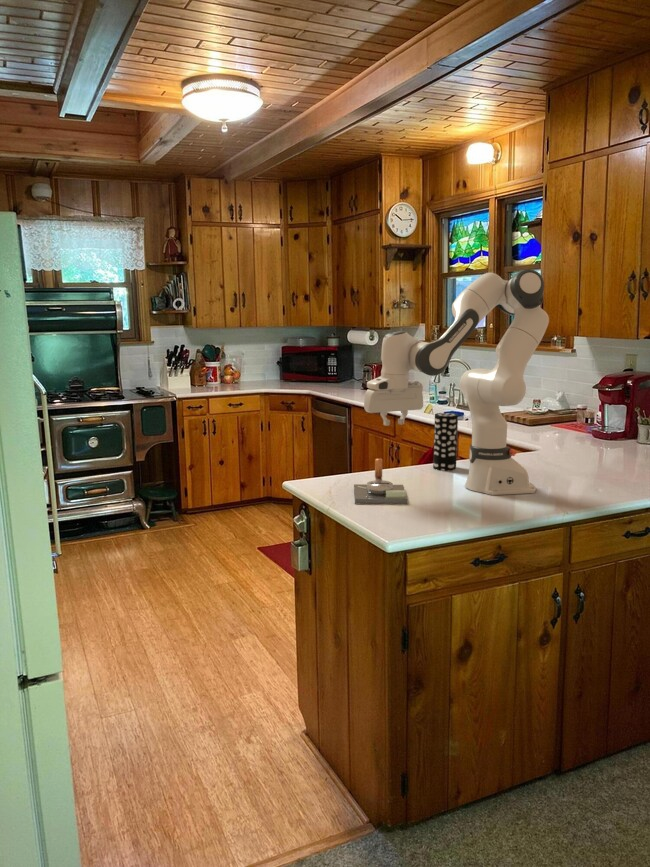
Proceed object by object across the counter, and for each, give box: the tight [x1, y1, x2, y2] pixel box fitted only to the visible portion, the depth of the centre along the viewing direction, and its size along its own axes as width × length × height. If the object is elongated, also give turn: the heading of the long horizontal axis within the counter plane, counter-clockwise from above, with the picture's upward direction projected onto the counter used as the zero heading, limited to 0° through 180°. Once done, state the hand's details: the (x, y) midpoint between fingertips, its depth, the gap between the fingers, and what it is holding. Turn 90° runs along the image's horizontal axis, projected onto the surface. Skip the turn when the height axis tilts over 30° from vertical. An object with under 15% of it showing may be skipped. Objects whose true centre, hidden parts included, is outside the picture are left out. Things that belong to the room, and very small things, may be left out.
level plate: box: [353, 483, 409, 505], centre depth 220 cm, size 16×17×3 cm
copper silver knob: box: [366, 458, 394, 495], centre depth 222 cm, size 8×13×8 cm, turn 179°
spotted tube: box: [432, 412, 459, 472], centre depth 256 cm, size 8×8×20 cm
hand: (393, 424), depth 227 cm, fingers open, 4 cm apart
